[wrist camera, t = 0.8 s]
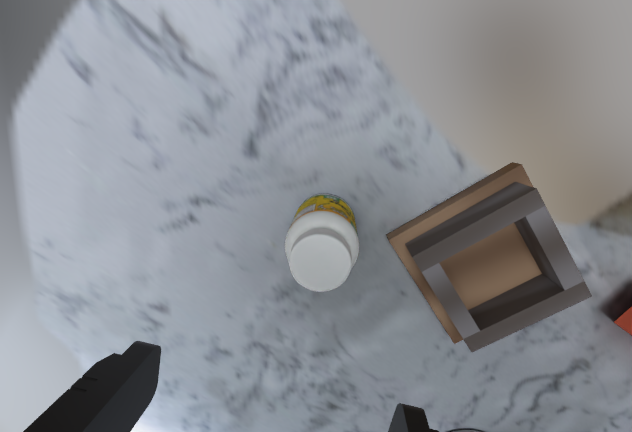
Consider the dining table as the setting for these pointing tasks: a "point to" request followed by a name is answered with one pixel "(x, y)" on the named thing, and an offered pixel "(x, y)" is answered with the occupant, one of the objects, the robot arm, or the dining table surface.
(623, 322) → the french fries container
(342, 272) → the supplement bottle
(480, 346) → the collar stand
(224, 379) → the dining table surface
